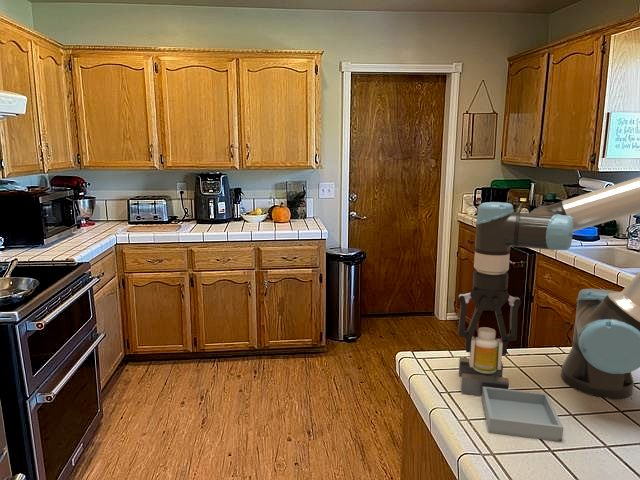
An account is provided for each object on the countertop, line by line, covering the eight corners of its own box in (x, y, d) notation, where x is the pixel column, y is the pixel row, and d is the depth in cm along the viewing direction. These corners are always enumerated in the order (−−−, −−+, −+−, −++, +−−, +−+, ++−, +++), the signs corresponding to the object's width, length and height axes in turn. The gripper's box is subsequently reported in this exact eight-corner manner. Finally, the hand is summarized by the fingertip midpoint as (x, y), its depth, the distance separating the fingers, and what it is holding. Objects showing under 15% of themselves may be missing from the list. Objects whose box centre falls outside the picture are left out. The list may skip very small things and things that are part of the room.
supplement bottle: (498, 375, 110) (501, 335, 109) (473, 373, 111) (476, 333, 110) (494, 365, 116) (497, 326, 114) (471, 363, 117) (473, 325, 115)
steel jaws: (500, 376, 119) (501, 361, 118) (507, 399, 108) (509, 382, 107) (458, 372, 121) (459, 357, 120) (461, 394, 110) (462, 377, 109)
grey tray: (545, 406, 105) (547, 393, 105) (561, 441, 92) (563, 427, 92) (481, 398, 108) (482, 386, 108) (488, 432, 95) (489, 418, 95)
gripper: (530, 268, 111) (523, 362, 115) (448, 264, 115) (444, 356, 119) (537, 276, 104) (529, 377, 108) (449, 272, 108) (445, 369, 112)
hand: (484, 365), depth 113 cm, fingers closed on supplement bottle, 5 cm apart
